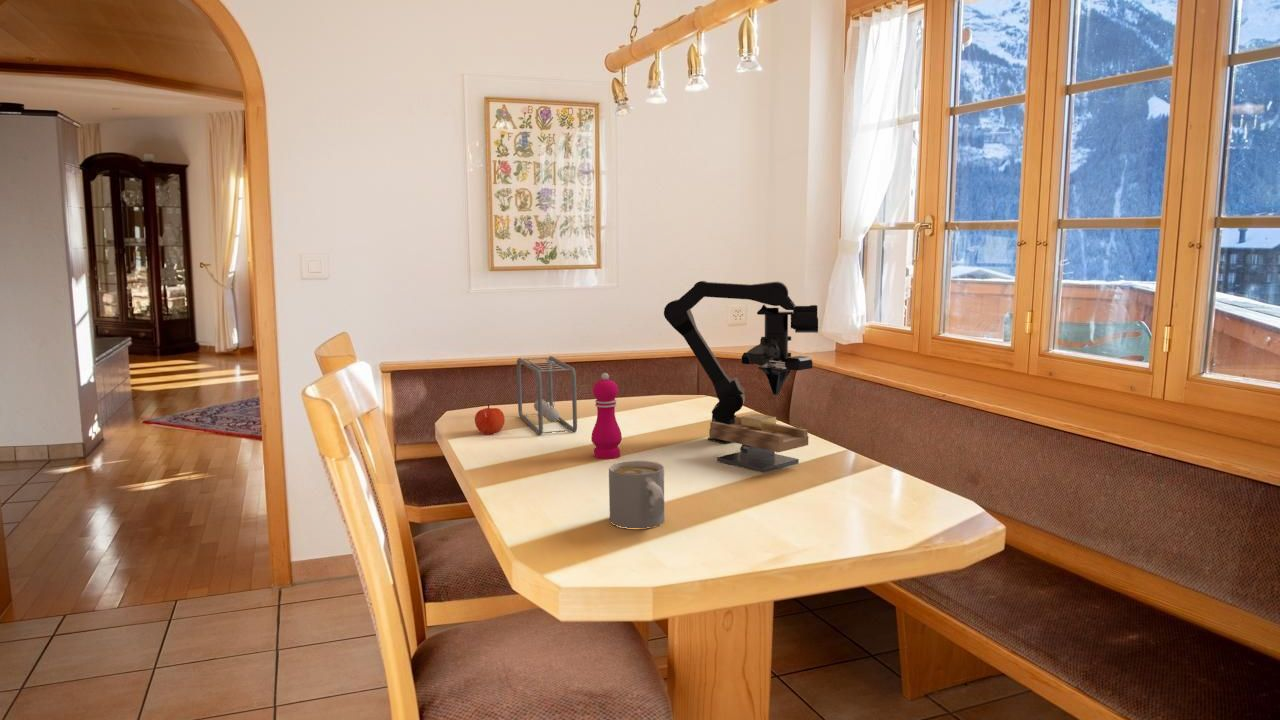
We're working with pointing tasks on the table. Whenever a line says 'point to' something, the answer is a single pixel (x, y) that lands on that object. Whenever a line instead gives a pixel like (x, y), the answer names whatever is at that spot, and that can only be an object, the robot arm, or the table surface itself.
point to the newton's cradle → (541, 404)
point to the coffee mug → (636, 494)
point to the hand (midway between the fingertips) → (775, 394)
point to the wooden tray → (760, 436)
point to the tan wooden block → (759, 422)
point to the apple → (489, 420)
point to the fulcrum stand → (757, 459)
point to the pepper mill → (606, 420)
